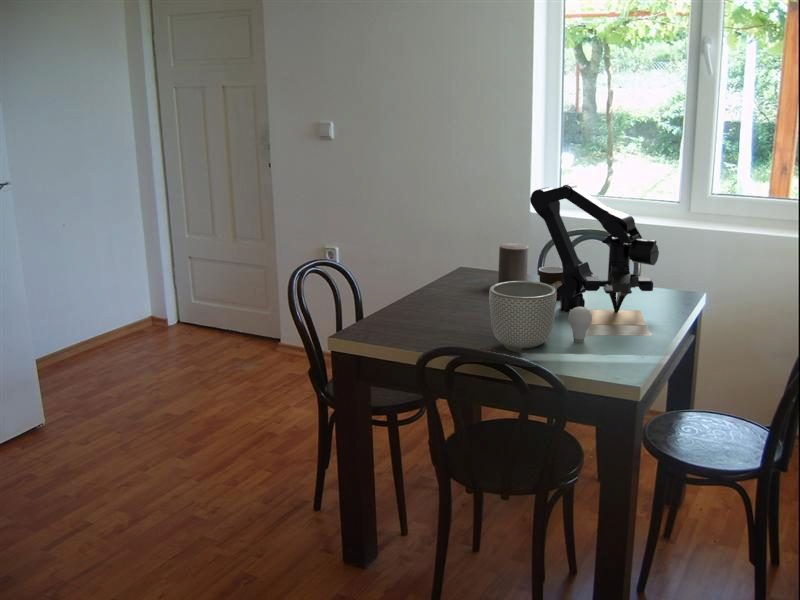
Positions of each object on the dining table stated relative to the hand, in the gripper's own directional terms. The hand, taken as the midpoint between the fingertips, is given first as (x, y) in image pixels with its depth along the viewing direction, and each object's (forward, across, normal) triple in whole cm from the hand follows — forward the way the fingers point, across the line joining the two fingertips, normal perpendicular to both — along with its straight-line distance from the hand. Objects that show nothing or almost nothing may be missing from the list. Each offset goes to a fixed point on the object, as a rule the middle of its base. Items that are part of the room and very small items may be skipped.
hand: (616, 312), depth 236 cm
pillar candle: (+5, -28, +40) cm, 49 cm away
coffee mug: (+4, -15, +22) cm, 27 cm away
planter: (+2, -28, -24) cm, 37 cm away
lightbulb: (+2, -13, -23) cm, 27 cm away
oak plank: (+2, -3, -3) cm, 5 cm away
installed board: (+2, -3, -13) cm, 13 cm away
